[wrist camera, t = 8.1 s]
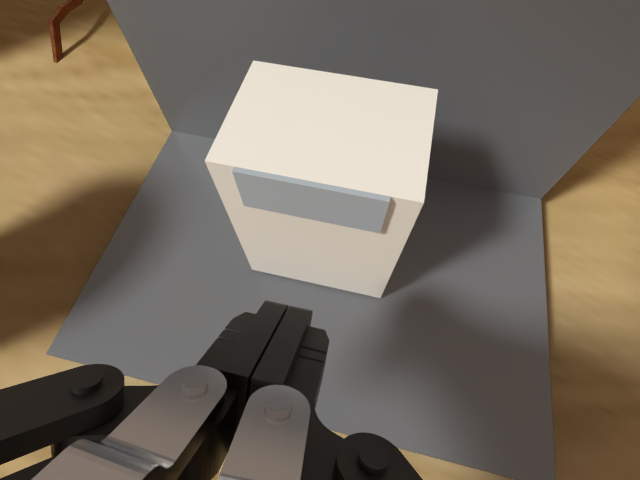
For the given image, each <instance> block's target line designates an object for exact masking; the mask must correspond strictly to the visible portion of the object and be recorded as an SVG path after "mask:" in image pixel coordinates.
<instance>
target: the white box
mask: <svg viewBox="0 0 640 480" xmlns="http://www.w3.org/2000/svg"><path fill="white" fill-rule="evenodd" d="M437 94H438V89H432V88H426V87H419V86H413V85H407V84H400V83H394V82H387V81H381V80H375V79H368V78H362V77H356V76H349V75H343V74H336V73H330V72H324V71H317V70H311V69H305V68H298V67H292V66H286V65H279V64H273V63H266V62H260V61H254V60H253V62H252V64H251V66H250V68H249V70H248V72H247V74H246V76H245V79H244V81H243V83H242V85H241V87H240V89H239V91H238V93H237V95H236V97H235V99H234V101H233V103H232V105H231V107H230V109H229V111H228V113H227V116H226V118H225V120H224V122H223V124H222V126H221V128H220V130H219V132H218V134H217V136H216V138H215V140H214V142H213V144H212V146H211V148H210V151H209V153H208V155H207V157H206V159H205V163H206V165H207V168H208V170H209V172H210V175H211V177H212V179H213V181H214V184H215V186H216V188H217V191H218V193H219V195H220V197H221V200H222V202H223V204H224V207H225V209H226V211H227V213H228V216H229V218H230V220H231V223H232V225H233V227H234V229H235V232H236V234H237V236H238V239H239V241H240V243H241V245H242V248H243V250H244V252H245V255H246V257H247V259H248V261H249V264H250V266H251V268H252V270H256V271H261V272H265V273H270V274H274V275H279V276H283V277H288V278H292V279H296V280H301V281H305V282H310V283H314V284H319V285H323V286H328V287H332V288H337V289H341V290H346V291H350V292H355V293H359V294H364V295H368V296H373V297H377V298H381V296H382V293H383V291H384V289H385V287H386V285H387V283H388V280H389V278H390V276H391V274H392V272H393V269H394V267H395V265H396V263H397V261H398V259H399V256H400V254H401V252H402V250H403V248H404V245H405V243H406V241H407V239H408V237H409V234H410V232H411V230H412V228H413V226H414V224H415V221H416V219H417V217H418V215H419V213H420V210H421V208H422V206H423V204H424V199H425V191H426V183H427V175H428V167H429V159H430V151H431V142H432V134H433V126H434V118H435V110H436V102H437Z"/></svg>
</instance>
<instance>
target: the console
mask: <svg viewBox="0 0 640 480" xmlns="http://www.w3.org/2000/svg"><path fill="white" fill-rule="evenodd" d="M107 2H108V4H109V6H110V8H111V10H112V12H113V14H114V16H115V18H116V20H117V22H118V24H119V26H120V28H121V30H122V32H123V34H124V36H125V38H126V40H127V42H128V44H129V46H130V48H131V50H132V52H133V54H134V56H135V58H136V60H137V62H138V64H139V66H140V68H141V70H142V72H143V74H144V76H145V78H146V80H147V82H148V84H149V86H150V88H151V90H152V92H153V94H154V96H155V98H156V100H157V102H158V104H159V106H160V108H161V110H162V112H163V114H164V116H165V118H166V120H167V122H168V124H169V126H170V128H171V130H172V132H171V134H170V136H169V137H168V139H167V141H166V143H165V145H164V146H163V148H162V150H161V152H160V153H159V155H158V157H157V159H156V160H155V162H154V164H153V166H152V168H151V169H150V171H149V173H148V175H147V176H146V178H145V180H144V182H143V183H142V185H141V187H140V189H139V191H138V192H137V194H136V196H135V198H134V199H133V201H132V203H131V205H130V206H129V208H128V210H127V212H126V214H125V215H124V217H123V219H122V221H121V222H120V224H119V226H118V228H117V229H116V231H115V233H114V235H113V237H112V238H111V240H110V242H109V244H108V245H107V247H106V249H105V251H104V252H103V254H102V256H101V258H100V260H99V261H98V263H97V265H96V267H95V268H94V270H93V272H92V274H91V275H90V277H89V279H88V281H87V283H86V284H85V286H84V288H83V290H82V291H81V293H80V295H79V297H78V298H77V300H76V302H75V304H74V306H73V307H72V309H71V311H70V313H69V314H68V316H67V318H66V320H65V321H64V323H63V325H62V327H61V329H60V330H59V332H58V334H57V336H56V337H55V339H54V341H53V343H52V344H51V346H50V348H49V350H48V352H47V353H46V354H47V355H51V356H55V357H59V358H62V359H66V360H70V361H74V362H77V363H81V364H85V365H90V364H107V365H111V366H114V367H116V368H118V369H119V370H121V372H122V373H123V375H126V376H130V377H134V378H137V379H141V380H145V381H149V382H152V383H156V384H161V383H162V382H163V381H164V380H165V379H166V378H167V377H168V376H169V375H170V374H172V373H173V372H175V371H177V370H179V369H181V368H184V367H188V366H195V365H196V364H197V363H198V361H199V360H200V359H201V358H202V356H203V355H204V354H205V353H206V351H207V350H208V349H209V348H210V346H211V345H212V344H213V343H214V341H215V340H216V339H217V338H218V337H219V335H220V334H221V332H222V331H223V330H225V327H226V326H227V325H228V324H229V322H230V321H231V320H232V319H233V318H234V317H236V316H238V315H240V314H242V313H244V312H249V313H253V314H256V313H257V312H258V310H259V309H260V307H261V306H262V304H263V303H264V301H265V300H268V301H272V302H277V303H281V304H286V305H289V306H290V305H291V306H295V307H300V308H304V309H309V310H312V311H313V313H312V320H311V327H315V328H319V329H324V330H325V331H326V333H327V336H328V338H329V346H328V352H327V357H326V362H325V367H324V372H323V378H322V383H321V387H320V391H319V395H318V399H317V404H316V408H315V411H316V414H317V416H318V418H319V420H320V421H321V422H322V424H323V425H324V426H325V427H326V428H328V429H329V430H333V431H336V432H340V433H344V434H348V435H352V434H355V433H361V432H365V433H372V434H376V435H379V436H381V437H383V438H385V439H387V440H388V441H390V442H391V443H392V444H393V445H395V446H396V447H397V448H400V449H404V450H408V451H411V452H415V453H419V454H423V455H426V456H430V457H434V458H438V459H441V460H445V461H449V462H453V463H456V464H460V465H464V466H468V467H472V468H475V469H479V470H483V471H487V472H490V473H494V474H498V475H502V476H505V477H509V478H513V479H517V480H556V472H555V453H554V434H553V415H552V396H551V376H550V357H549V338H548V319H547V300H546V281H545V262H544V243H543V223H542V204H541V199H542V198H543V196H544V195H545V194H546V193H547V192H548V191H549V190H550V189H551V188H552V187H553V186H554V185H555V184H556V183H557V182H558V181H559V180H560V179H561V178H562V177H563V176H564V175H565V174H566V173H567V172H568V170H569V169H570V168H571V167H572V166H573V165H574V164H575V163H576V162H577V161H578V160H579V159H580V158H581V157H582V156H583V155H584V154H585V153H586V152H587V151H588V150H589V149H590V148H591V147H592V146H593V145H594V143H595V142H596V141H597V140H598V139H599V138H600V137H601V136H602V135H603V134H604V133H605V132H606V131H607V130H608V129H609V128H610V127H611V126H612V125H613V124H614V123H615V122H616V121H617V120H618V119H619V117H620V116H621V115H622V114H623V113H624V112H625V111H626V110H627V109H628V108H629V107H630V106H631V105H632V104H633V103H634V102H635V101H636V100H637V99H638V98H639V97H640V0H107ZM253 60H254V61H260V62H266V63H273V64H279V65H286V66H292V67H298V68H305V69H311V70H317V71H324V72H330V73H336V74H343V75H349V76H356V77H362V78H368V79H375V80H381V81H387V82H394V83H400V84H407V85H413V86H419V87H426V88H432V89H438V94H437V102H436V110H435V118H434V126H433V134H432V142H431V151H430V159H429V167H428V175H427V183H426V191H425V199H424V204H423V206H422V208H421V210H420V213H419V215H418V217H417V219H416V221H415V224H414V226H413V228H412V230H411V232H410V234H409V237H408V239H407V241H406V243H405V245H404V248H403V250H402V252H401V254H400V256H399V259H398V261H397V263H396V265H395V267H394V269H393V272H392V274H391V276H390V278H389V280H388V283H387V285H386V287H385V289H384V291H383V293H382V296H381V298H377V297H373V296H368V295H364V294H359V293H355V292H350V291H346V290H341V289H337V288H332V287H328V286H323V285H319V284H314V283H310V282H305V281H301V280H296V279H292V278H288V277H283V276H279V275H274V274H270V273H265V272H261V271H256V270H252V268H251V266H250V264H249V261H248V259H247V257H246V255H245V252H244V250H243V248H242V245H241V243H240V241H239V239H238V236H237V234H236V232H235V229H234V227H233V225H232V223H231V220H230V218H229V216H228V213H227V211H226V209H225V207H224V204H223V202H222V200H221V197H220V195H219V193H218V191H217V188H216V186H215V184H214V181H213V179H212V177H211V175H210V172H209V170H208V168H207V165H206V163H205V159H206V157H207V155H208V153H209V151H210V148H211V146H212V144H213V142H214V140H215V138H216V136H217V134H218V132H219V130H220V128H221V126H222V124H223V122H224V120H225V118H226V116H227V113H228V111H229V109H230V107H231V105H232V103H233V101H234V99H235V97H236V95H237V93H238V91H239V89H240V87H241V85H242V83H243V81H244V79H245V76H246V74H247V72H248V70H249V68H250V66H251V64H252V62H253Z"/></svg>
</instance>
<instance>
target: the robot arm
mask: <svg viewBox="0 0 640 480" xmlns="http://www.w3.org/2000/svg"><path fill="white" fill-rule="evenodd" d="M312 313H313V311H312V310H309V309H304V308H300V307H295V306H291V305H290V306H289V305H286V304H281V303H277V302H272V301H268V300H265V301H264V303H263V304H262V306H261V307H260V309H259V310H258V312H257V313H256V314H253V313H249V312H244V313H242V314H240V315H238V316H236V317H234V318H233V319H232V320H231V321H230V322H229V324H228V325H227V326H226V327H225V330H223V331H222V332H221V334H220V335H219V337H218V338H217V339H216V340H215V341H214V343H213V344H212V345H211V346H210V348H209V349H208V350H207V351H206V353H205V354H204V355H203V356H202V358H201V359H200V360H199V361H198V363H197V364H196V365H195V366H188V367H184V368H181V369H179V370H177V371H175V372H173V373H172V374H170V375H169V376H168V377H167V378H166V379H165V380H164V381H163V382H162V383H161V384H160V385H157V386H124V375H123V373H122V372H121V370H119V369H118V368H116V367H114V366H111V365H107V364H90V365H84V366H80V367H77V368H73V369H70V370H66V371H63V372H59V373H56V374H53V375H49V376H46V377H42V378H39V379H35V380H32V381H28V382H25V383H21V384H18V385H15V386H11V387H8V388H4V389H1V390H0V465H1V464H4V463H6V462H9V461H11V460H14V459H16V458H19V457H21V456H24V455H26V454H29V453H31V452H34V451H37V450H39V449H42V448H44V447H47V446H49V445H51V454H52V457H51V458H49V459H47V460H44V461H42V462H39V463H37V464H35V465H32V466H30V467H27V468H25V469H22V470H20V471H18V472H15V473H13V474H10V475H8V476H6V477H3V478H1V479H0V480H422V478H421V477H420V476H419V475H418V473H417V472H416V471H415V470H414V468H413V467H412V466H411V465H410V463H409V462H408V461H407V460H406V458H405V457H404V456H403V454H402V453H401V452H400V451H399V450H398V449H397V447H396V446H395V445H393V444H392V443H391V442H390V441H388V440H387V439H385V438H383V437H381V436H379V435H376V434H372V433H365V432H361V433H355V434H352V435H349V436H347V437H346V438H345V439H343V438H342V437H340V436H338V435H336V434H335V433H333V432H332V431H330V430H329V429H328V428H326V427H325V426H324V425H323V424H322V422H321V421H320V420H319V418H318V416H317V414H316V411H315V408H316V404H317V399H318V395H319V391H320V387H321V383H322V378H323V372H324V367H325V362H326V357H327V352H328V346H329V338H328V336H327V333H326V331H325V330H324V329H319V328H315V327H311V320H312ZM227 453H228V454H227ZM226 455H227V456H226ZM225 457H226V459H225ZM224 459H225V462H224V464H223V467H222V469H221V472H220V475H219V477H218V474H219V469H220V468H221V465H222V463H223V461H224Z"/></svg>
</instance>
